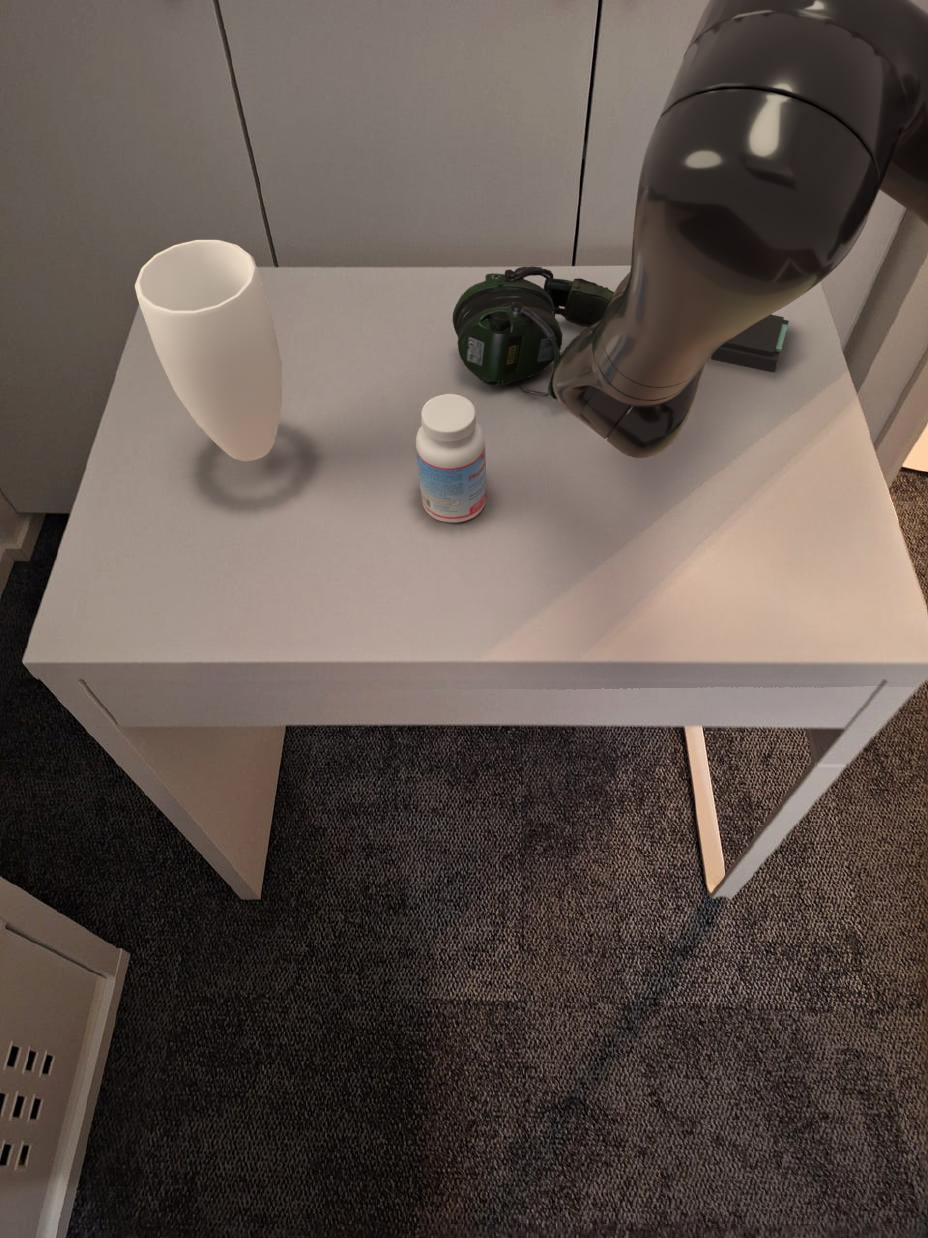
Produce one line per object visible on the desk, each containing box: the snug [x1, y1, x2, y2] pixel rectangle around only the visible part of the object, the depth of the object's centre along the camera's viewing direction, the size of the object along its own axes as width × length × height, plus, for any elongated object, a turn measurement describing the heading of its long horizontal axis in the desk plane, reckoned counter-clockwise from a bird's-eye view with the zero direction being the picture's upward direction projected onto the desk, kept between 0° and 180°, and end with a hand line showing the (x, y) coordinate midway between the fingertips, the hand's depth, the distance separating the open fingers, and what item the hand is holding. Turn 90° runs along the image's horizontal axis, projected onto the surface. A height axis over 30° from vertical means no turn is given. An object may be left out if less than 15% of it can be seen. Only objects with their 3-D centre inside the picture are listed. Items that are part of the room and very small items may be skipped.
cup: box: [134, 239, 283, 462], centre depth 81 cm, size 10×10×22 cm
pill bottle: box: [415, 393, 487, 523], centre depth 82 cm, size 6×6×11 cm
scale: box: [710, 314, 790, 373], centre depth 96 cm, size 7×7×2 cm
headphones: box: [452, 265, 615, 401], centre depth 93 cm, size 13×13×20 cm
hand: (800, 178), depth 83 cm, fingers closed on supplement bottle, 5 cm apart
